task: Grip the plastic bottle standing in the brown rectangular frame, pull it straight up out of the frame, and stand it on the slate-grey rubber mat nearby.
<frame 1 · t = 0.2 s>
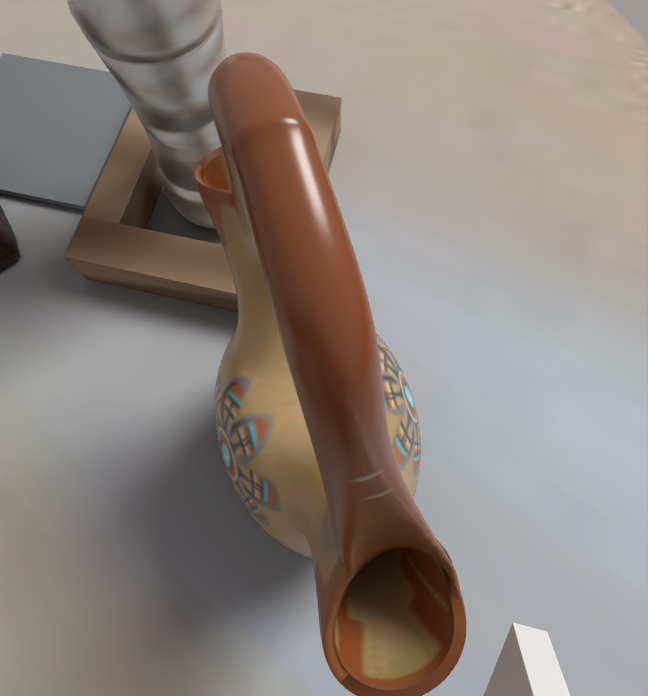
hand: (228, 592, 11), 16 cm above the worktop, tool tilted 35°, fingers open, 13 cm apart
plastic bottle: (221, 202, 34), resting in brown rectangular frame
rubber mat: (45, 130, 36), on the worktop
ceramic vessel: (320, 442, 29), on the worktop
brown rectangular frame: (220, 200, 34), on the worktop
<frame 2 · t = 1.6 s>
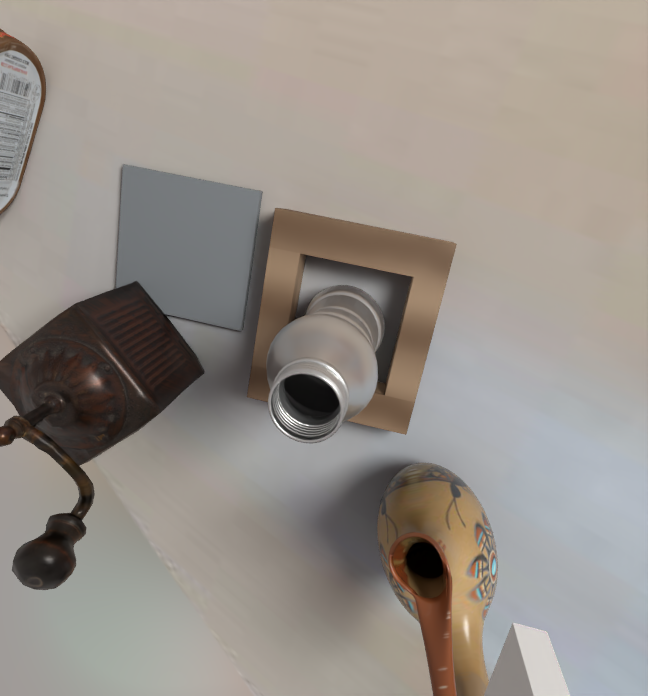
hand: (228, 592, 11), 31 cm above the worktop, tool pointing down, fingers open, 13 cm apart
coffee grinder: (150, 375, 45), on the worktop, touching rubber mat
plastic bottle: (347, 318, 41), resting in brown rectangular frame
tin: (25, 141, 41), on the worktop
rubber mat: (186, 249, 41), on the worktop
ceramic vessel: (429, 495, 45), on the worktop
brown rectangular frame: (347, 318, 41), on the worktop
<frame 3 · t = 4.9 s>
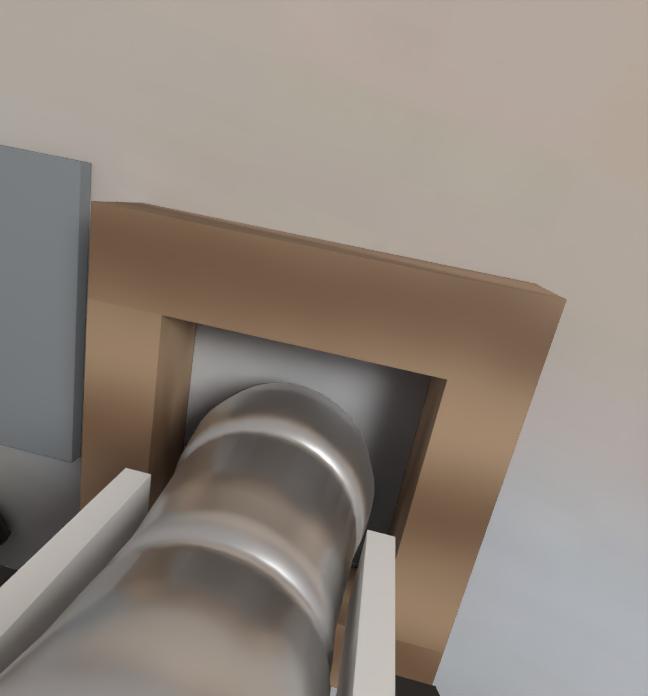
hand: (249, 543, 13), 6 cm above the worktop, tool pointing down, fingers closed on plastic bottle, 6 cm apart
plastic bottle: (294, 441, 19), resting in brown rectangular frame, touching gripper
brown rectangular frame: (293, 444, 19), on the worktop
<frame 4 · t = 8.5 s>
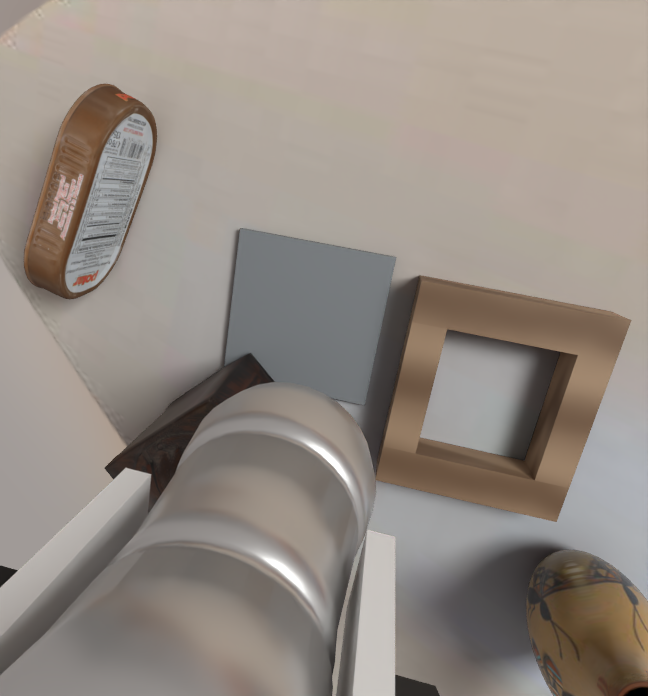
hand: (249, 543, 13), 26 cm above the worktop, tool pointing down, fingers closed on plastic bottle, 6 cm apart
coffee grinder: (257, 450, 42), on the worktop, touching rubber mat
plastic bottle: (295, 441, 19), point 20 cm above the worktop, touching gripper
tin: (128, 202, 38), on the worktop
rubber mat: (305, 318, 38), on the worktop
ceramic vessel: (566, 577, 41), on the worktop
brown rectangular frame: (484, 392, 37), on the worktop
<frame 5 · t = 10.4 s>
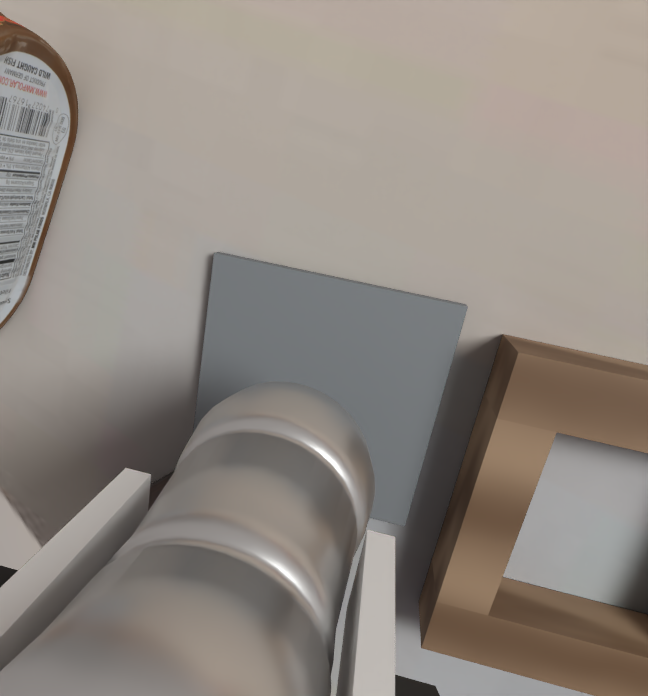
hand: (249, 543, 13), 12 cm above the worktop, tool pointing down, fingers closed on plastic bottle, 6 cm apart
coffee grinder: (240, 576, 28), on the worktop, touching rubber mat
plastic bottle: (294, 440, 19), point 6 cm above the worktop, touching gripper
tin: (40, 206, 24), on the worktop
rubber mat: (316, 392, 24), on the worktop
brown rectangular frame: (595, 514, 24), on the worktop
when the fingers open (7 cm above the worktop, at t = 11.9 s): plastic bottle stays where it is, resting on rubber mat.
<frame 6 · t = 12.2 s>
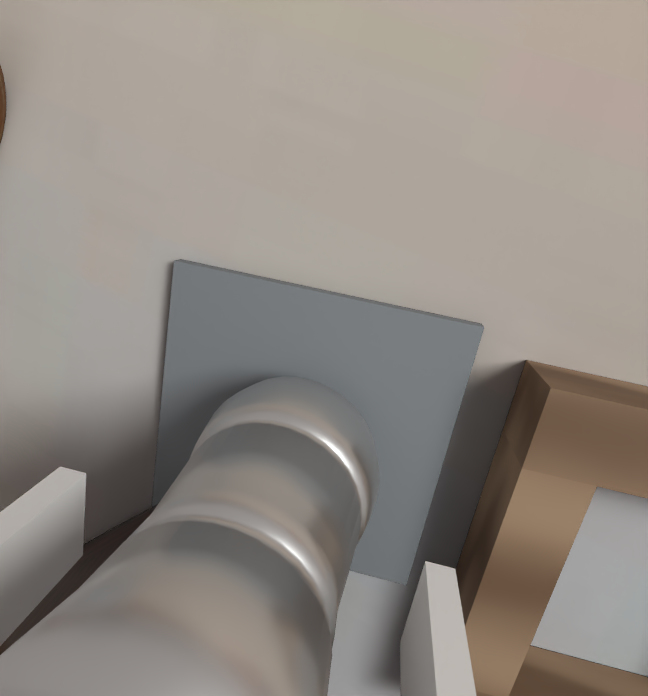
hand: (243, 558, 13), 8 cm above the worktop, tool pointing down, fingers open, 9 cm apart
coffee grinder: (214, 635, 24), on the worktop, touching rubber mat
plastic bottle: (304, 434, 20), resting on rubber mat
rubber mat: (300, 427, 20), on the worktop
brown rectangular frame: (634, 574, 20), on the worktop
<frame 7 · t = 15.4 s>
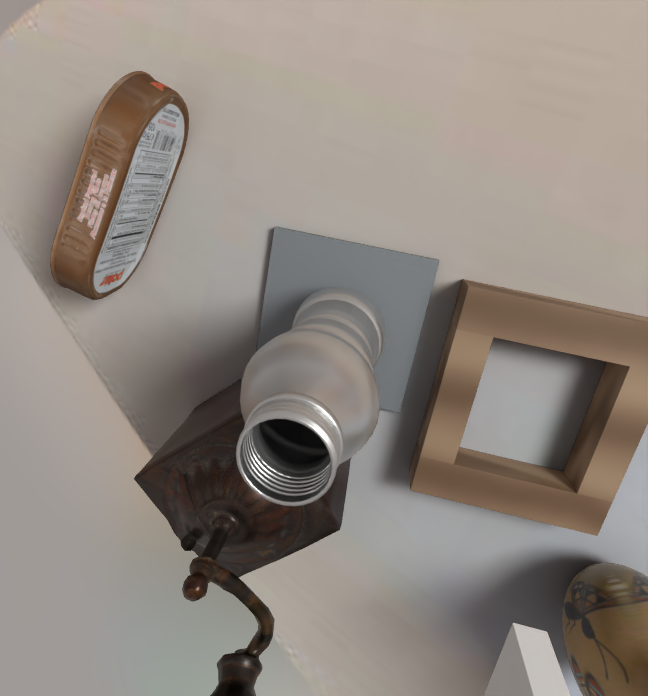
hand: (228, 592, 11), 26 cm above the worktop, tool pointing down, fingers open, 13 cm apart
coffee grinder: (285, 456, 40), on the worktop, touching rubber mat
plastic bottle: (342, 323, 36), resting on rubber mat
tin: (155, 197, 36), on the worktop
rubber mat: (340, 321, 36), on the worktop
ceramic vessel: (600, 589, 40), on the worktop
brown rectangular frame: (525, 401, 36), on the worktop
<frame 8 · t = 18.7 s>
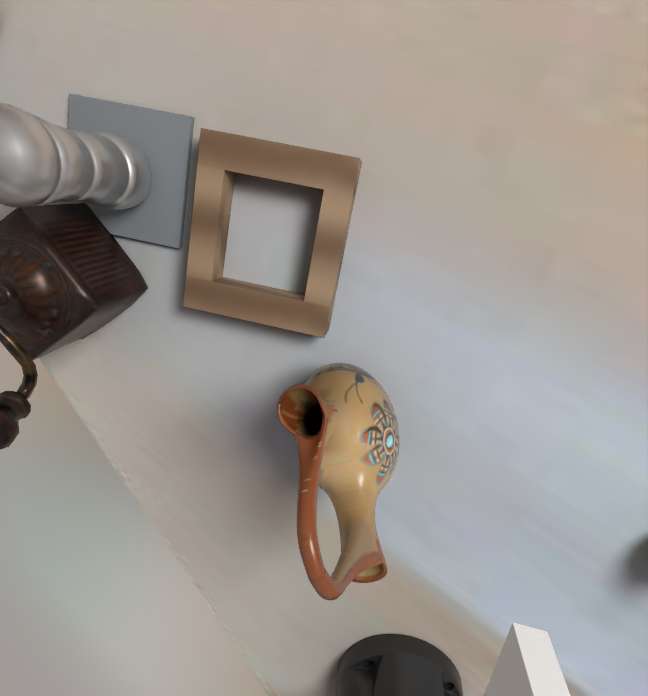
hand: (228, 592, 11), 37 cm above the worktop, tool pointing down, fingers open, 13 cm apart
coffee grinder: (100, 294, 50), on the worktop, touching rubber mat
plastic bottle: (129, 174, 46), resting on rubber mat
rubber mat: (129, 173, 46), on the worktop
ceramic vessel: (353, 401, 49), on the worktop
brown rectangular frame: (273, 235, 46), on the worktop
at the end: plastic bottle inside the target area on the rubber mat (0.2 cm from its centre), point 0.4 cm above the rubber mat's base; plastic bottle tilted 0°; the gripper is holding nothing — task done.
